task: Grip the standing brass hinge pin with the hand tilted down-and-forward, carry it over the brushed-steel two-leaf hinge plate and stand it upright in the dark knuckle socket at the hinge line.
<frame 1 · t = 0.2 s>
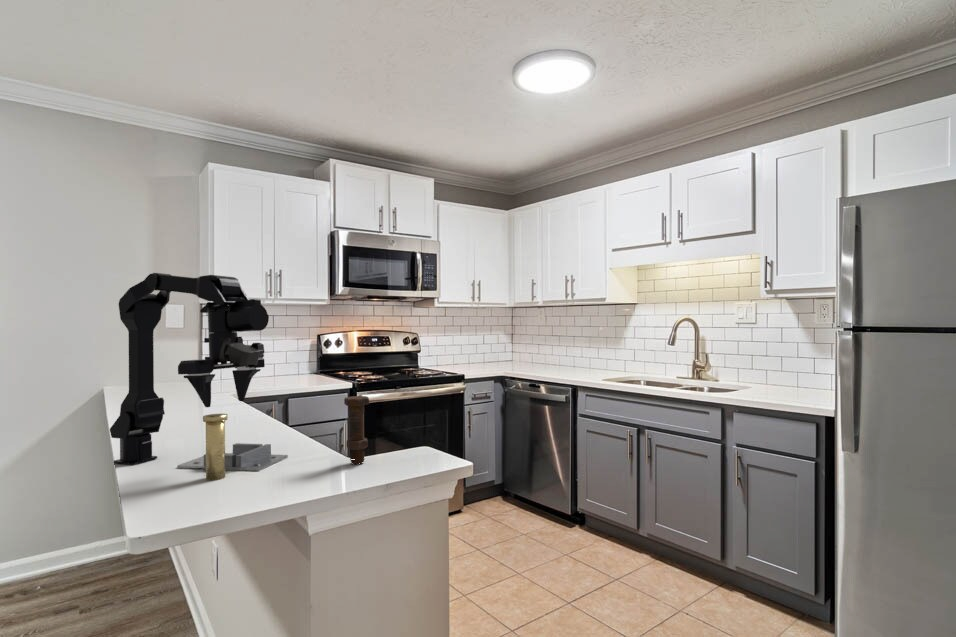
hand: (225, 404, 115), 15 cm above the counter, tool pointing down, fingers open, 9 cm apart
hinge: (234, 462, 122), on the counter
pin: (215, 477, 110), on the counter
bolt: (357, 464, 120), on the counter
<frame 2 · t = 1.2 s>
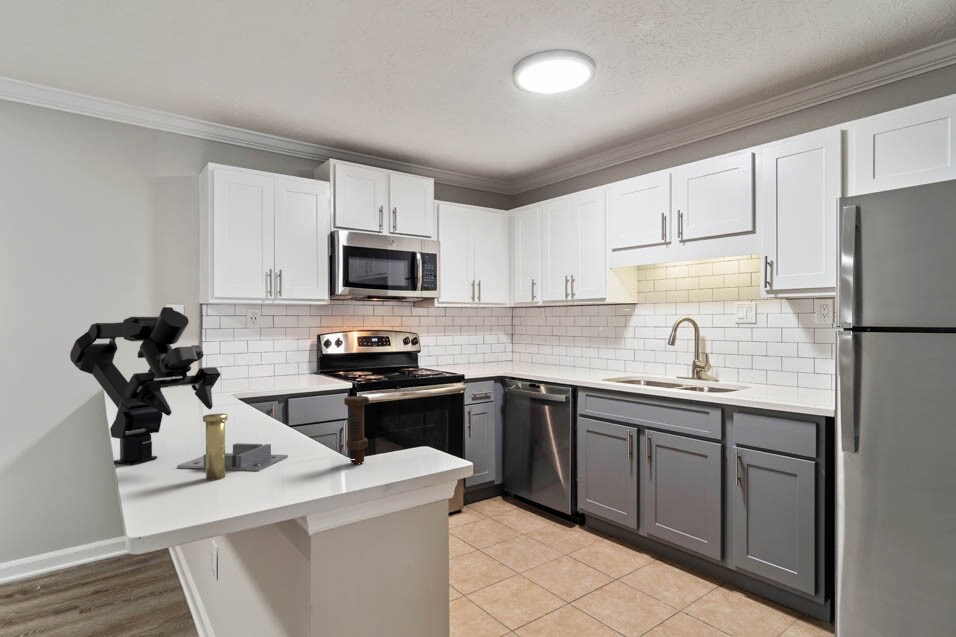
hand: (191, 411, 114), 13 cm above the counter, tool tilted 45°, fingers open, 9 cm apart
nothing on the counter moved.
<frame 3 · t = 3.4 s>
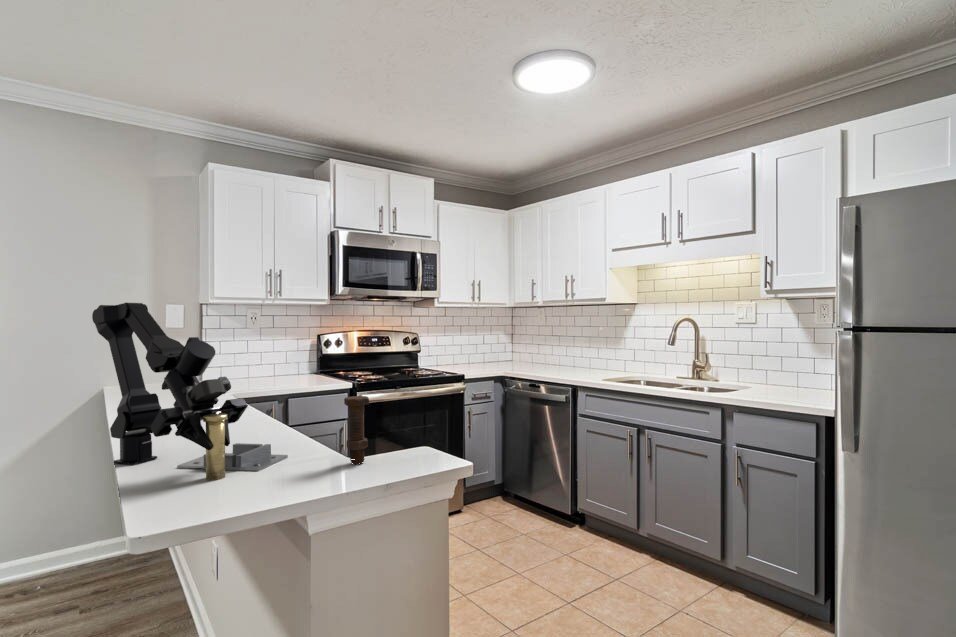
hand: (219, 446, 109), 7 cm above the counter, tool tilted 45°, fingers closed on pin, 4 cm apart
pin: (215, 477, 110), on the counter, touching gripper
everything else where it was.
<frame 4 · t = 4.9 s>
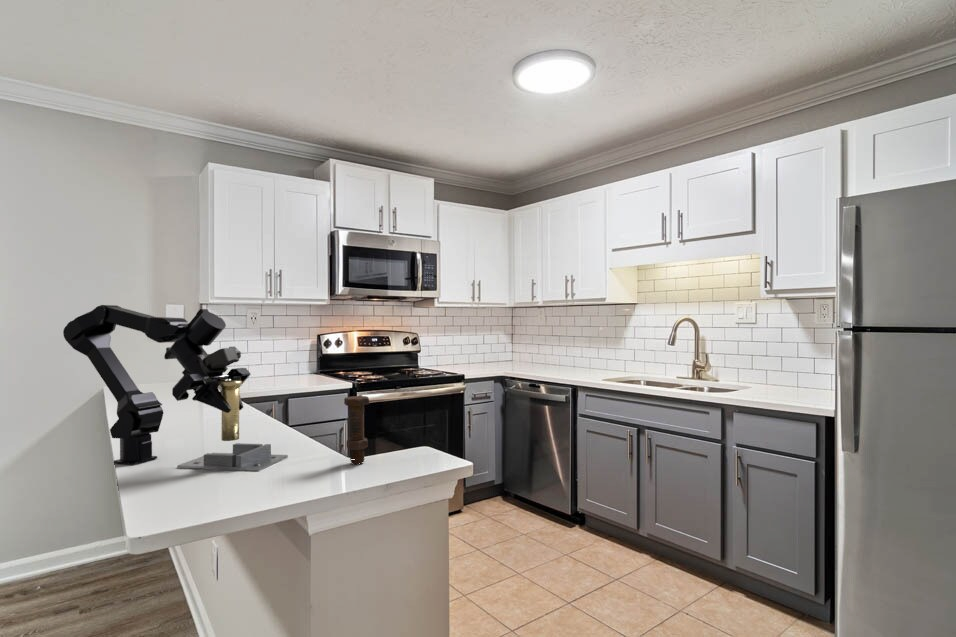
hand: (235, 410, 118), 13 cm above the counter, tool tilted 45°, fingers closed on pin, 4 cm apart
pin: (230, 439, 119), point 6 cm above the counter, touching gripper
everything else where it was.
when the fingers open (8 cm above the counter, at t = 6.5 s): pin stays where it is, resting on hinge.
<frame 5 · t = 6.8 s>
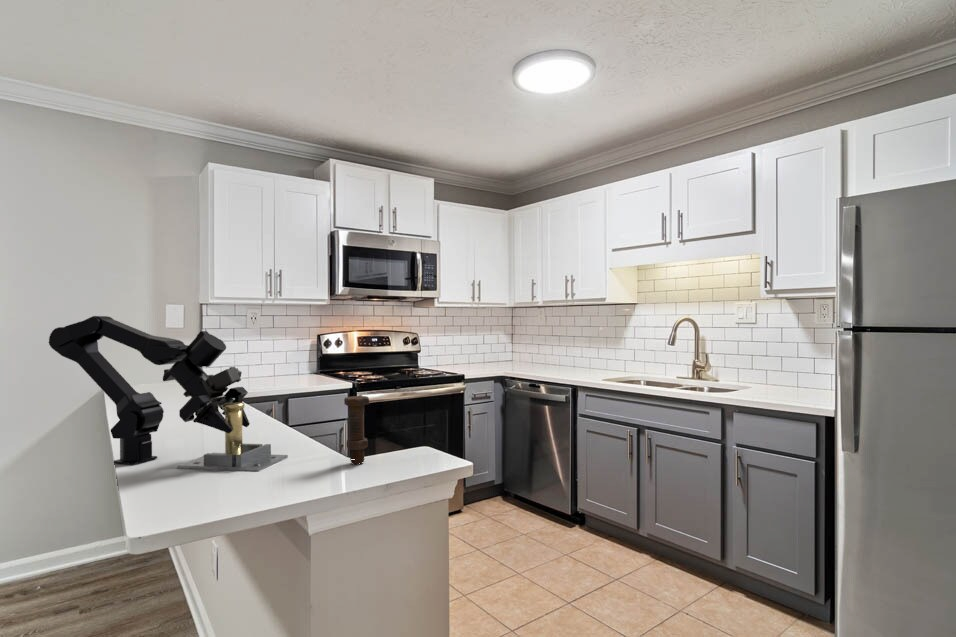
hand: (239, 428, 122), 8 cm above the counter, tool tilted 45°, fingers open, 7 cm apart
pin: (234, 459, 122), point 1 cm above the counter, touching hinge
everything else where it was.
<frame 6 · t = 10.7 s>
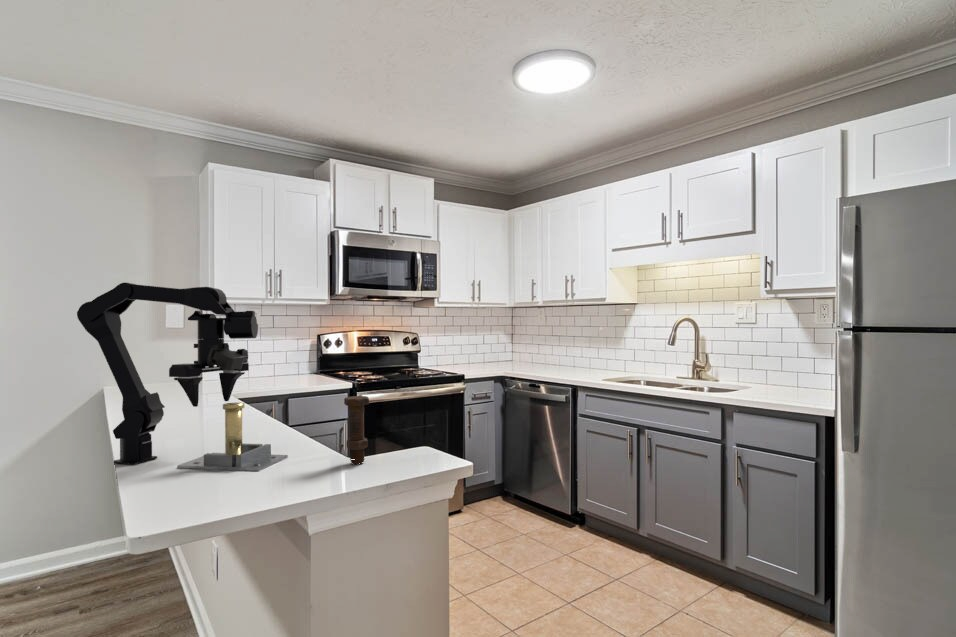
hand: (211, 403, 128), 13 cm above the counter, tool pointing down, fingers open, 9 cm apart
nothing on the counter moved.
at the end: pin 0.1 cm from the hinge (horizontally); pin tilted 0°; the gripper is holding nothing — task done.
